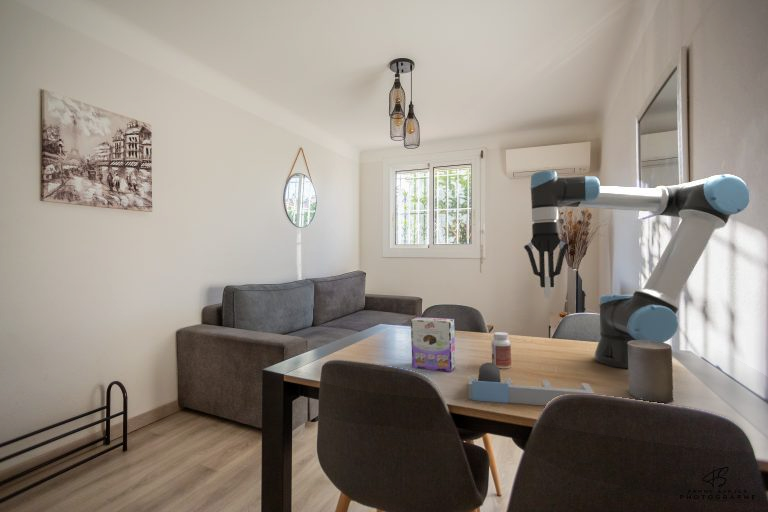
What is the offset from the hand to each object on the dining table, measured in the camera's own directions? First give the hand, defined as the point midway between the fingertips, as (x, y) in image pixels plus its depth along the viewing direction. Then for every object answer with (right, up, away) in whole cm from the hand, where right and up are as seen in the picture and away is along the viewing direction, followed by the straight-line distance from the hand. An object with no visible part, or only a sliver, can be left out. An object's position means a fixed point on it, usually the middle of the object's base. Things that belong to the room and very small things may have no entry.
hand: (547, 297), depth 118 cm
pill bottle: (-11, -24, +10) cm, 28 cm away
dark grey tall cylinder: (-21, -25, -11) cm, 34 cm away
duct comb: (-13, -24, -19) cm, 33 cm away
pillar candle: (+19, -24, -18) cm, 36 cm away
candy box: (-34, -25, +10) cm, 43 cm away
